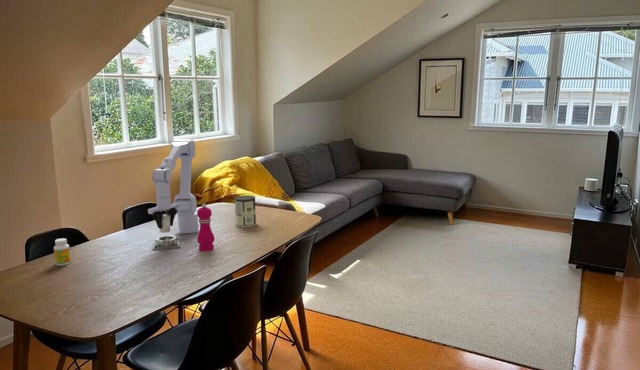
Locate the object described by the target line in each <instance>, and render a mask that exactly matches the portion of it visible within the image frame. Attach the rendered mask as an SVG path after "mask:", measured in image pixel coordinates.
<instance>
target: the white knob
mask: <svg viewBox="0 0 640 370" xmlns="http://www.w3.org/2000/svg"><path fill="white" fill-rule="evenodd" d="M162 214H163V217H162V229H160V228H159V232H160V233H162V234H163V233H165V234H166V233H170V232H171V226H170V218H171V215H169V214H167V213H162Z"/></svg>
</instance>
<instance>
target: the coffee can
mask: <svg viewBox="0 0 640 370" xmlns="http://www.w3.org/2000/svg"><path fill="white" fill-rule="evenodd" d="M234 210H235V211H234V212H235V226H236V227H238V228H251V227H255V226H256V225H257V218H256V213H257V212H256V196H254V195H248V194H247V195H238V196H235V197H234Z"/></svg>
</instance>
